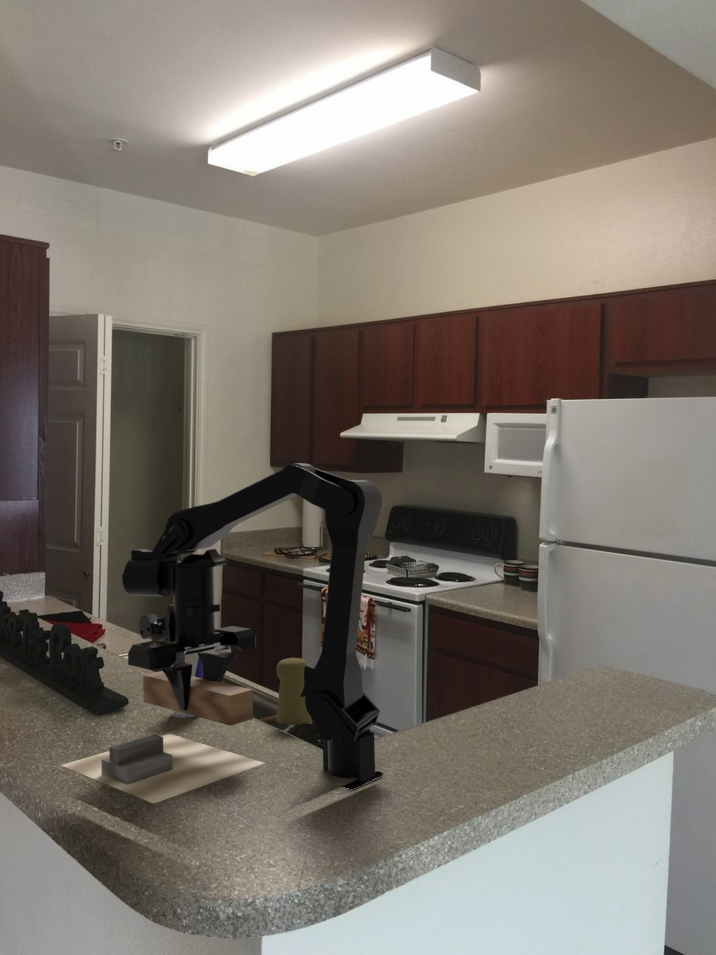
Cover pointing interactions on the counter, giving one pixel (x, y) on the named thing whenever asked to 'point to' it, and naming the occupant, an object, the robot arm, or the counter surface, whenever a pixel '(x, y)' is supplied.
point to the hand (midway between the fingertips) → (196, 707)
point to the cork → (291, 692)
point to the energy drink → (196, 672)
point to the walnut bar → (202, 698)
